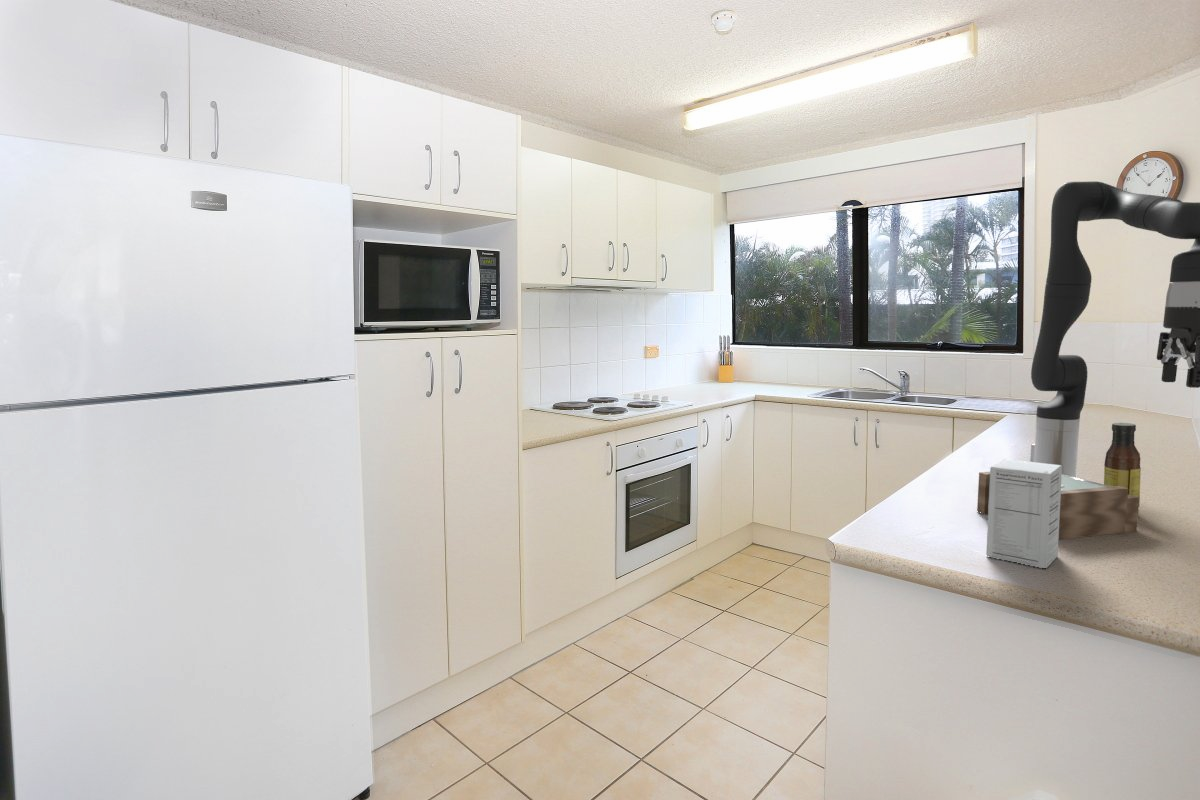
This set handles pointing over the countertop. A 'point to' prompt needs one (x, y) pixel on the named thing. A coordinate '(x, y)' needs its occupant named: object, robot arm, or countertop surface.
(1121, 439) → the sauce bottle
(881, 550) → the countertop surface
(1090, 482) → the trapdoor
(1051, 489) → the supplement box
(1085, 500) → the frame
